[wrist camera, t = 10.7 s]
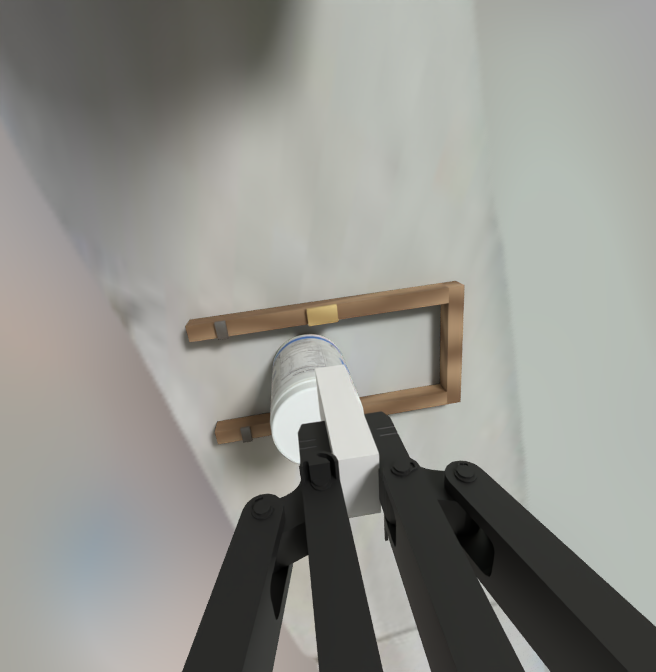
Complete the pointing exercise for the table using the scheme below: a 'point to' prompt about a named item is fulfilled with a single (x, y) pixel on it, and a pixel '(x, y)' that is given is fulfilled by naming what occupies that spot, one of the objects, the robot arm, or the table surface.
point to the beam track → (344, 308)
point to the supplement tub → (298, 388)
